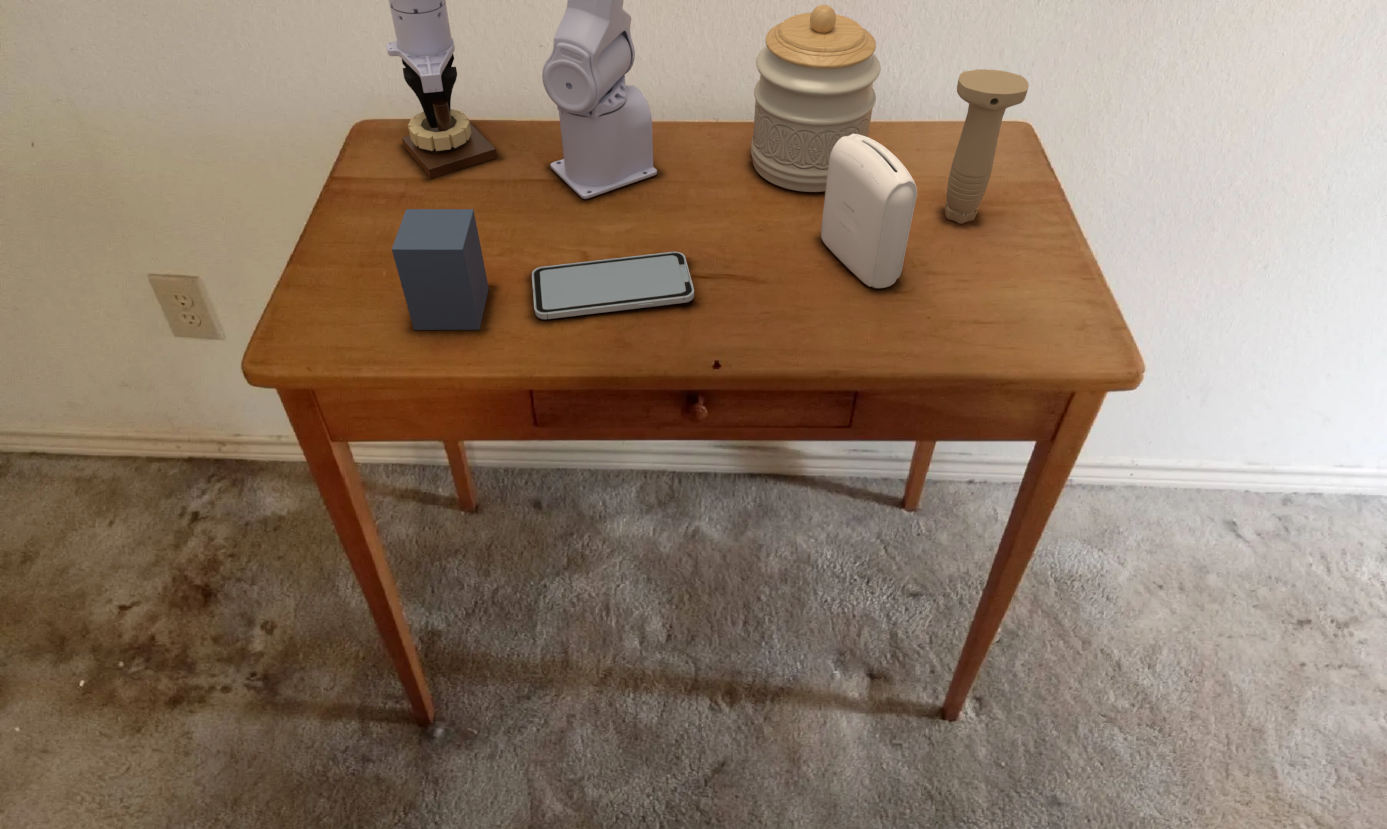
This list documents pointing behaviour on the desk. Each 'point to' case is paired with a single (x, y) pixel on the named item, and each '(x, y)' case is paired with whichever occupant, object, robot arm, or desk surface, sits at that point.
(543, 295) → the smartphone
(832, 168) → the photo printer
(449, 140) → the bracelet
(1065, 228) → the desk surface
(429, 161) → the stand
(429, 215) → the block
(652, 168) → the robot arm
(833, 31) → the jar
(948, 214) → the handle
